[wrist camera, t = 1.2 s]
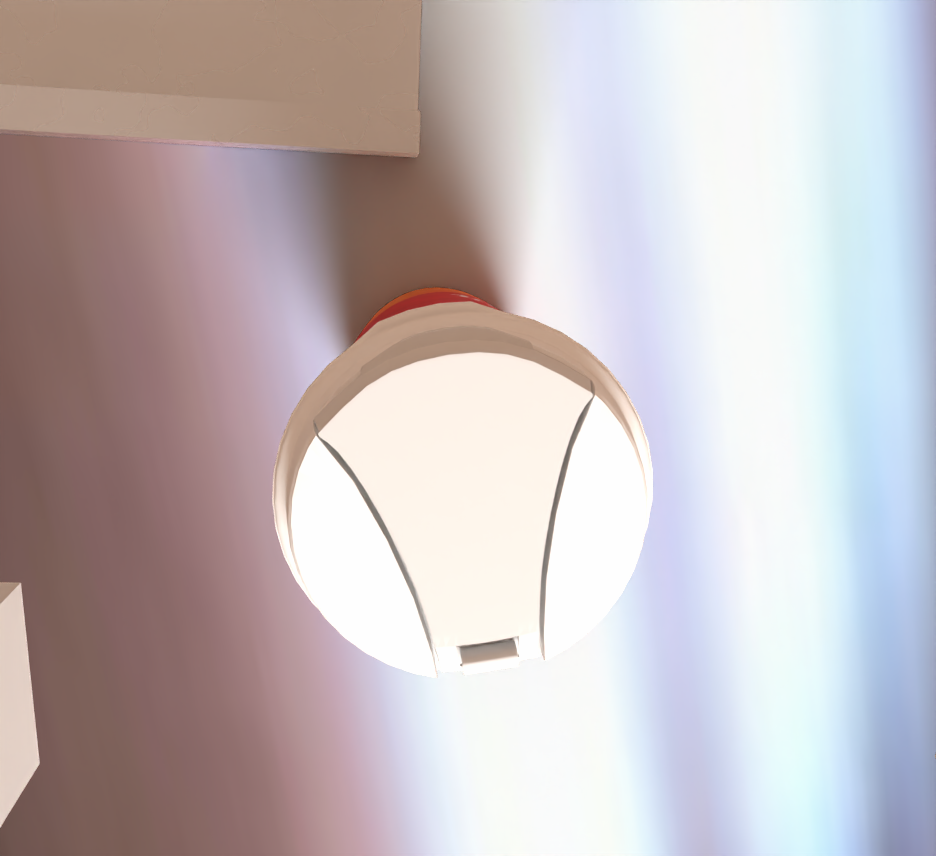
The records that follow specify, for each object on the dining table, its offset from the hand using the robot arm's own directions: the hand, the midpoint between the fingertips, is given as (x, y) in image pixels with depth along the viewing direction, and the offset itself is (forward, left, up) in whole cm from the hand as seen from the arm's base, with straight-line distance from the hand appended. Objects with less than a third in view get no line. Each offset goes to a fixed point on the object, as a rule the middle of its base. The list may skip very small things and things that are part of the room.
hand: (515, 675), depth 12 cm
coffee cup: (0, 0, -21) cm, 21 cm away
